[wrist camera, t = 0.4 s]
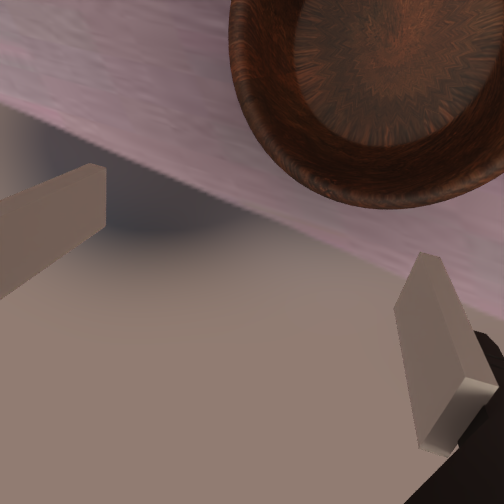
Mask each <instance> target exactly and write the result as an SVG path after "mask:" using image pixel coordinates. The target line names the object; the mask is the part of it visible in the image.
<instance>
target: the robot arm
mask: <svg viewBox="0 0 504 504" xmlns="http://www.w3.org/2000/svg"><path fill="white" fill-rule="evenodd" d="M105 226H106V168H105V167H101V166H98V165H94V164H90V163H89V164H87V165H84V166H82V167H80V168H77V169H74V170H72V171H70V172H67V173H65V174H62V175H61V176H58V177H55V178H53V179H50V180H48V181H46V182H43V183H41V184H38V185H36V186H33V187H31V188H29V189H26V190H24V191H21V192H19V193H17V194H14V195H12V196H9V197H7V198H5V199H2V200H0V300H1V299H3V298H4V297H5V296H7V295H8V294H10V293H11V292H13V291H14V290H15V289H17V288H18V287H20V286H21V285H22V284H24V283H25V282H27V281H28V280H30V279H31V278H32V277H34V276H35V275H37V274H38V273H40V272H41V271H42V270H44V269H45V268H47V267H48V266H50V265H51V264H52V263H54V262H55V261H57V260H58V259H60V258H61V257H62V256H64V255H65V254H66V253H68V252H69V251H71V250H72V249H74V248H75V247H77V246H78V245H80V244H81V243H82V242H84V241H85V240H87V239H88V238H89V237H91V236H92V235H94V234H95V233H97V232H98V231H99V230H101V229H102V228H104V227H105ZM394 313H395V317H396V324H397V329H398V334H399V340H400V346H401V351H402V357H403V363H404V368H405V374H406V379H407V385H408V391H409V396H410V402H411V407H412V413H413V419H414V424H415V430H416V435H417V441H418V446H419V449H422V450H425V451H428V452H431V453H434V454H437V455H440V456H444V457H447V458H448V457H449V455H450V454H451V452H452V451H453V450H454V448H455V447H456V445H457V444H458V445H459V449H458V450H457V451H456V452H455V453H454V454H453V455H452V456H451V457H450V458H449V459H448V460H447V461H446V462H445V463H444V464H443V465H442V466H441V467H440V468H439V469H438V470H437V471H436V472H435V473H434V474H433V475H432V476H431V477H430V478H429V479H428V480H427V481H426V482H425V483H424V484H423V485H422V486H421V487H420V488H419V489H418V490H417V491H416V492H415V493H414V494H413V495H412V496H411V497H410V498H409V499H408V500H407V501H406V502H405V503H404V504H504V357H503V355H502V353H501V351H500V349H499V347H498V346H497V345H496V344H495V343H494V342H493V341H492V340H491V339H490V338H489V337H488V336H487V335H486V334H484V333H481V332H477V331H474V330H473V329H472V327H471V324H470V322H469V320H468V318H467V316H466V313H465V311H464V309H463V307H462V305H461V302H460V300H459V298H458V296H457V294H456V291H455V289H454V287H453V285H452V283H451V280H450V278H449V276H448V274H447V272H446V269H445V267H444V265H443V263H442V261H441V258H440V257H437V256H433V255H429V254H426V253H422V252H420V253H419V255H418V257H417V259H416V262H415V264H414V266H413V268H412V270H411V272H410V274H409V277H408V279H407V281H406V283H405V285H404V287H403V289H402V292H401V294H400V296H399V298H398V300H397V302H396V305H395V307H394Z"/></svg>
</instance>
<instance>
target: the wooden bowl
mask: <svg viewBox="0 0 504 504" xmlns="http://www.w3.org/2000/svg"><path fill="white" fill-rule="evenodd" d="M228 40H229V58H230V67H231V73H232V78H233V83H234V87H235V91H236V94H237V98H238V101H239V103H240V106H241V109H242V111H243V114H244V116H245V118H246V120H247V122H248V125H249V127H250V129H251V130H252V132H253V134H254V135H255V137H256V139H257V140H258V142H259V143H260V144H261V146H262V147H263V149H264V150H265V151H266V153H267V154H268V155H269V156H270V157H271V158H272V159H273V161H274V162H275V163H276V164H277V165H278V166H279V167H280V168H281V169H283V170H284V171H285V172H286V173H287V174H288V175H289V176H291V177H292V178H293V179H295V180H296V181H297V182H299V183H300V184H302V185H303V186H305V187H307V188H308V189H310V190H312V191H314V192H316V193H318V194H320V195H322V196H324V197H327V198H329V199H332V200H334V201H337V202H341V203H344V204H348V205H352V206H357V207H363V208H371V209H406V208H415V207H421V206H426V205H431V204H435V203H439V202H442V201H446V200H449V199H452V198H454V197H457V196H460V195H463V194H465V193H467V192H469V191H472V190H474V189H476V188H478V187H480V186H482V185H484V184H486V183H488V182H489V181H491V180H493V179H495V178H497V177H498V176H500V175H501V174H503V173H504V0H231V6H230V14H229V29H228Z"/></svg>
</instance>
